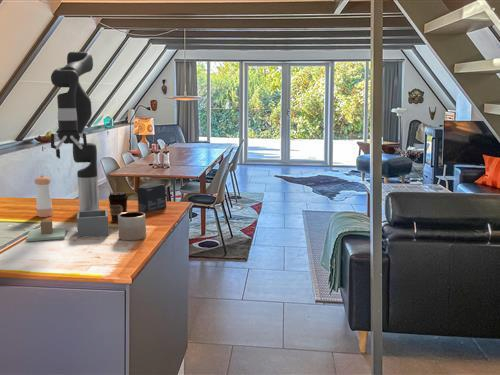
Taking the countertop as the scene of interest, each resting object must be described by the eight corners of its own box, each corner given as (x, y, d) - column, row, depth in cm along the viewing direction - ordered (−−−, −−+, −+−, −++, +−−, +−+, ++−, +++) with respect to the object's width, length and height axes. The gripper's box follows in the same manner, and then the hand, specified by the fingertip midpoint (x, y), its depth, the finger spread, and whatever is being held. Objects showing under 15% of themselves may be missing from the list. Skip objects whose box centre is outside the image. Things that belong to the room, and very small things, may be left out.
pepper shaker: (33, 216, 237) (29, 175, 233) (44, 212, 244) (41, 173, 240) (45, 217, 235) (42, 176, 231) (56, 214, 241) (53, 174, 237)
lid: (30, 233, 211) (29, 217, 210) (66, 230, 215) (65, 215, 214) (26, 242, 198) (25, 226, 197) (64, 240, 202) (63, 224, 201)
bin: (78, 229, 215) (77, 211, 214) (108, 227, 219) (107, 209, 217) (77, 237, 204) (76, 218, 203) (108, 235, 208) (107, 216, 206)
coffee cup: (123, 224, 225) (122, 195, 222) (105, 223, 226) (104, 194, 224) (131, 219, 233) (130, 191, 231) (114, 218, 235) (113, 190, 232)
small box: (157, 205, 260) (156, 182, 258) (166, 207, 257) (166, 184, 254) (137, 210, 250) (136, 186, 248) (147, 212, 246) (146, 188, 244)
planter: (121, 234, 210) (120, 211, 208) (147, 233, 211) (147, 211, 209) (116, 241, 199) (115, 218, 198) (144, 241, 200) (143, 217, 198)
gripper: (85, 118, 216) (87, 156, 219) (50, 118, 212) (52, 157, 215) (85, 119, 209) (87, 158, 212) (48, 120, 205) (51, 159, 208)
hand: (70, 157), depth 214 cm, fingers open, 8 cm apart
